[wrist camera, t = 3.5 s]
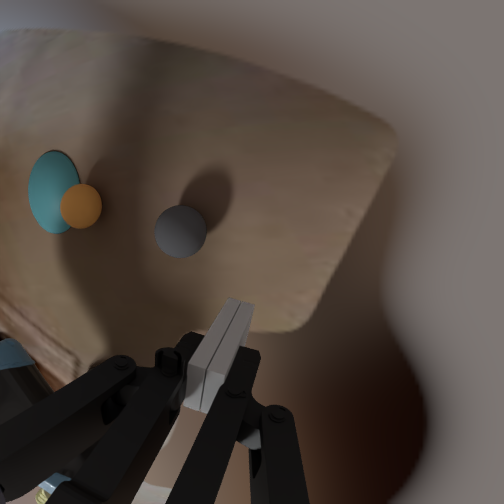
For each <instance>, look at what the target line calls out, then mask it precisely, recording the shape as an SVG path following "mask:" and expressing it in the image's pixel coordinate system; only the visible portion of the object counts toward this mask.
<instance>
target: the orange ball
mask: <svg viewBox="0 0 504 504" xmlns="http://www.w3.org/2000/svg"><path fill="white" fill-rule="evenodd" d="M101 210H102V201H101V197H100V195H99V193H98V192H97V191H96V190H95V189H94V188H93V187H92V186H90V185H87V184H77V185H74V186H72V187H71V188H69V189H68V190H67V191H66V192H65V193H64V195H63V197H62V200H61V204H60V211H61V215H62V217H63V219H64V220H65V222H66V223H67V224H68V225H70V226H71V227H74V228H78V229H82V228H87V227H89V226H91V225H92V224H94V223H95V222H96V221H97V219H98V218H99V216H100V213H101Z"/></svg>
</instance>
